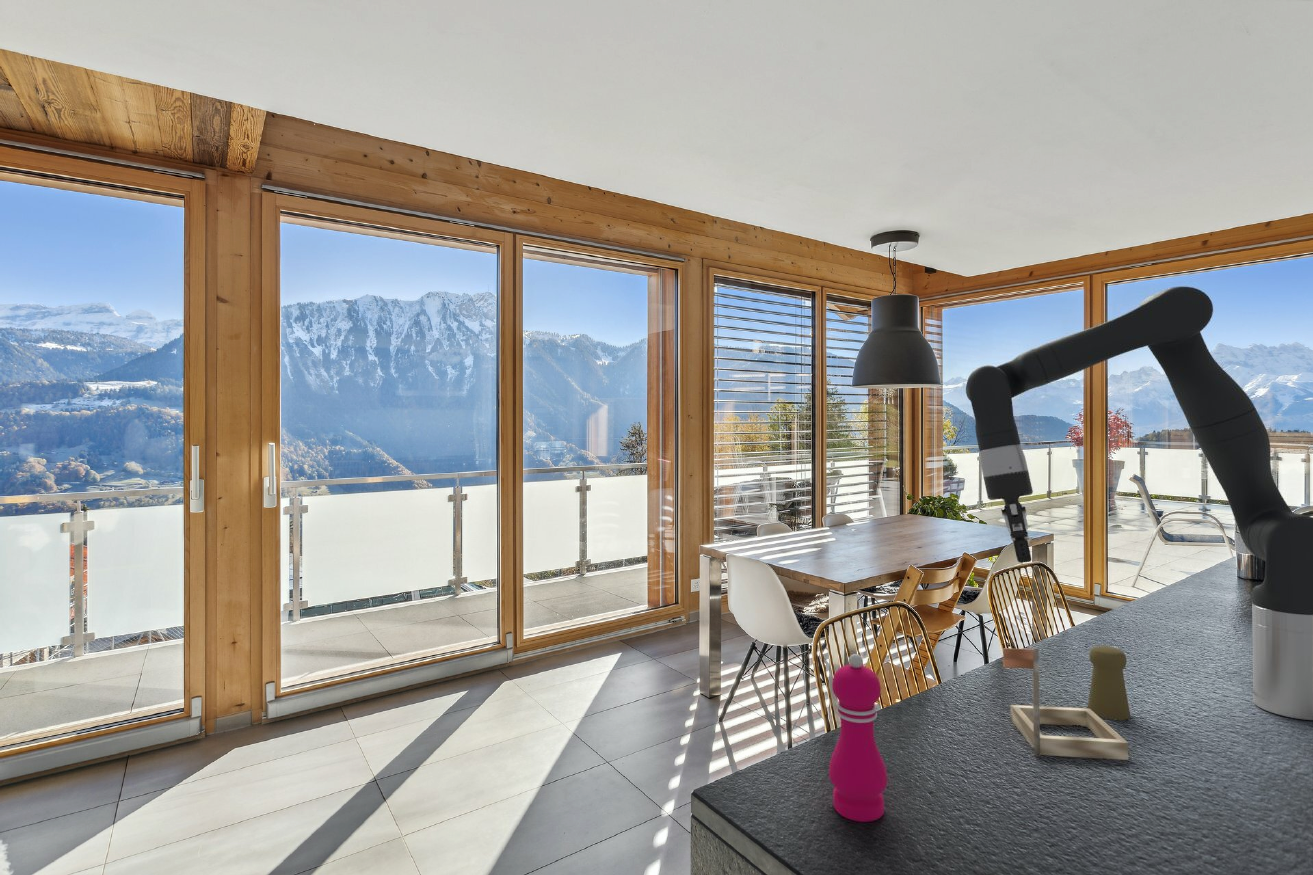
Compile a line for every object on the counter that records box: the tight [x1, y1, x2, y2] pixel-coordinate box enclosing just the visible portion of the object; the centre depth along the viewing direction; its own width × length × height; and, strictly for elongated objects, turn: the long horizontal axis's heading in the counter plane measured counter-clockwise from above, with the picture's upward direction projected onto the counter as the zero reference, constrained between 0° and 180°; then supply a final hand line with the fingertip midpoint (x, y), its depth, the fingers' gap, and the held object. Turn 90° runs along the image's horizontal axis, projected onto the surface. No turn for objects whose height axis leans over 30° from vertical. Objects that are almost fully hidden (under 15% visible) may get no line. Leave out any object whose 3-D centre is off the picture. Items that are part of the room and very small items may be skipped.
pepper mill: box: [828, 653, 888, 823], centre depth 86 cm, size 7×7×20 cm
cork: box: [1087, 645, 1131, 721], centre depth 113 cm, size 6×6×11 cm
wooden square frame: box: [1002, 646, 1129, 761], centre depth 104 cm, size 17×13×16 cm
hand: (1024, 560), depth 121 cm, fingers open, 8 cm apart
